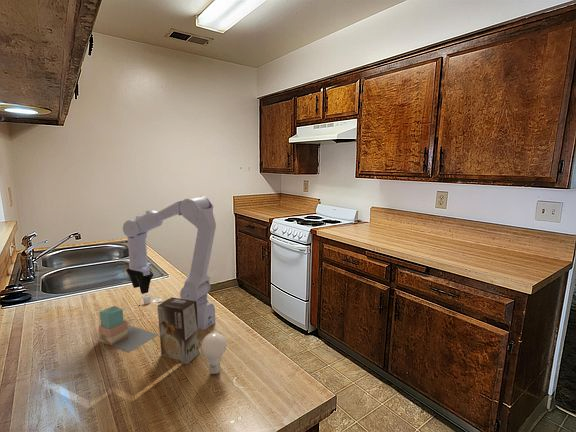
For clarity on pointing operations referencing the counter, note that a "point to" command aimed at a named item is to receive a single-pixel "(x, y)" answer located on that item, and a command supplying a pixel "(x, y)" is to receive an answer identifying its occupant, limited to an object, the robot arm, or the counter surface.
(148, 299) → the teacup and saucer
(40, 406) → the counter surface
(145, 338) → the slate board
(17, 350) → the counter surface
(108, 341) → the maple slab
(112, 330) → the terracotta slab
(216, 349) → the lightbulb
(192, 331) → the coffee box
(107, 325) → the teal block
